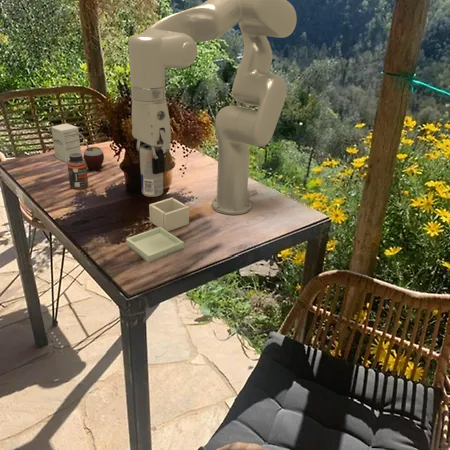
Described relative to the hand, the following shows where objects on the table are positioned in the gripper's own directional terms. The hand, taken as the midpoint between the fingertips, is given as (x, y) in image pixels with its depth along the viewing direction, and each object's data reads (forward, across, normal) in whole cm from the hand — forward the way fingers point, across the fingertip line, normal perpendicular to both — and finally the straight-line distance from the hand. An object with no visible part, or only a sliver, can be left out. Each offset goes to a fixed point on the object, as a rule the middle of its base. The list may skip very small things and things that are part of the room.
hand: (151, 168), depth 110 cm
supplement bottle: (+23, +49, -2) cm, 54 cm away
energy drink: (+7, 0, 0) cm, 7 cm away
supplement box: (+23, +77, -11) cm, 81 cm away
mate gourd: (+23, +60, -13) cm, 65 cm away
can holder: (+22, +9, -11) cm, 26 cm away
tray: (+22, 0, 0) cm, 22 cm away
